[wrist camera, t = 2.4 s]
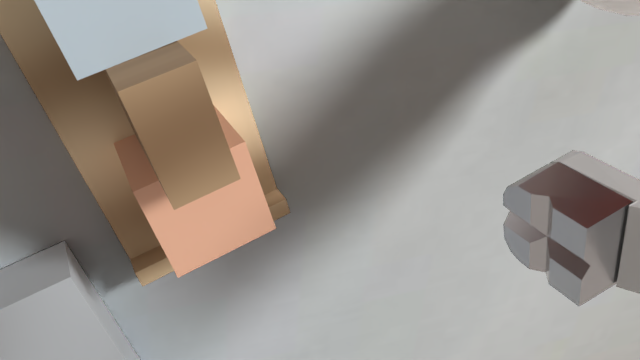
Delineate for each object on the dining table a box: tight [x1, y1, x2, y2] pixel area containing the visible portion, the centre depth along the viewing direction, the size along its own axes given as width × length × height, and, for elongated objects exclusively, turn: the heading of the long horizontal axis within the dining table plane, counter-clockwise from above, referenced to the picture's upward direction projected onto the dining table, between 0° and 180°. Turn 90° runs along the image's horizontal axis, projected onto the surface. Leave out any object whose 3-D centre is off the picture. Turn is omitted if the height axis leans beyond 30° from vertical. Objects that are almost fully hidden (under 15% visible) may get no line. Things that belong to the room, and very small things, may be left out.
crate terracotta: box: [113, 106, 276, 278], centre depth 21 cm, size 4×4×4 cm
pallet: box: [0, 0, 290, 286], centre depth 19 cm, size 16×7×7 cm, turn 14°
